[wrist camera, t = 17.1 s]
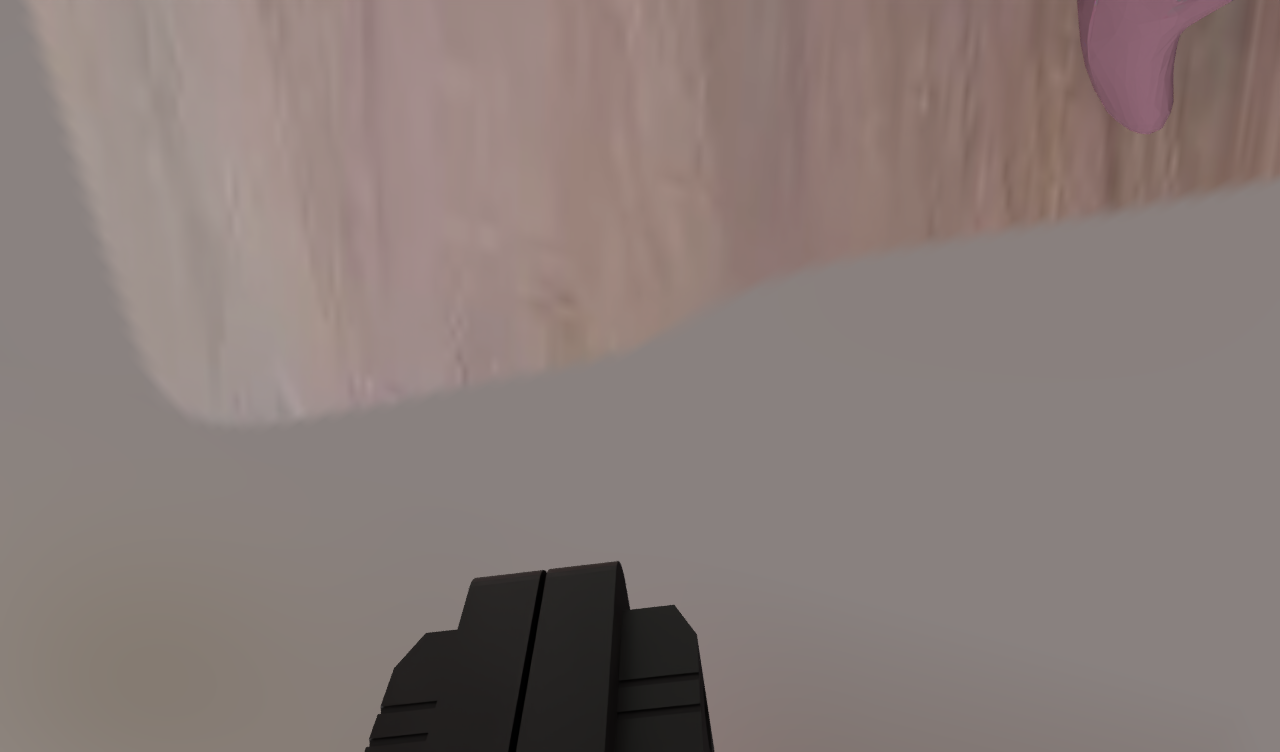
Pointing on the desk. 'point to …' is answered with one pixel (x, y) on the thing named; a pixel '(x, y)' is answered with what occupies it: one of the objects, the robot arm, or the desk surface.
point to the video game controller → (1136, 54)
